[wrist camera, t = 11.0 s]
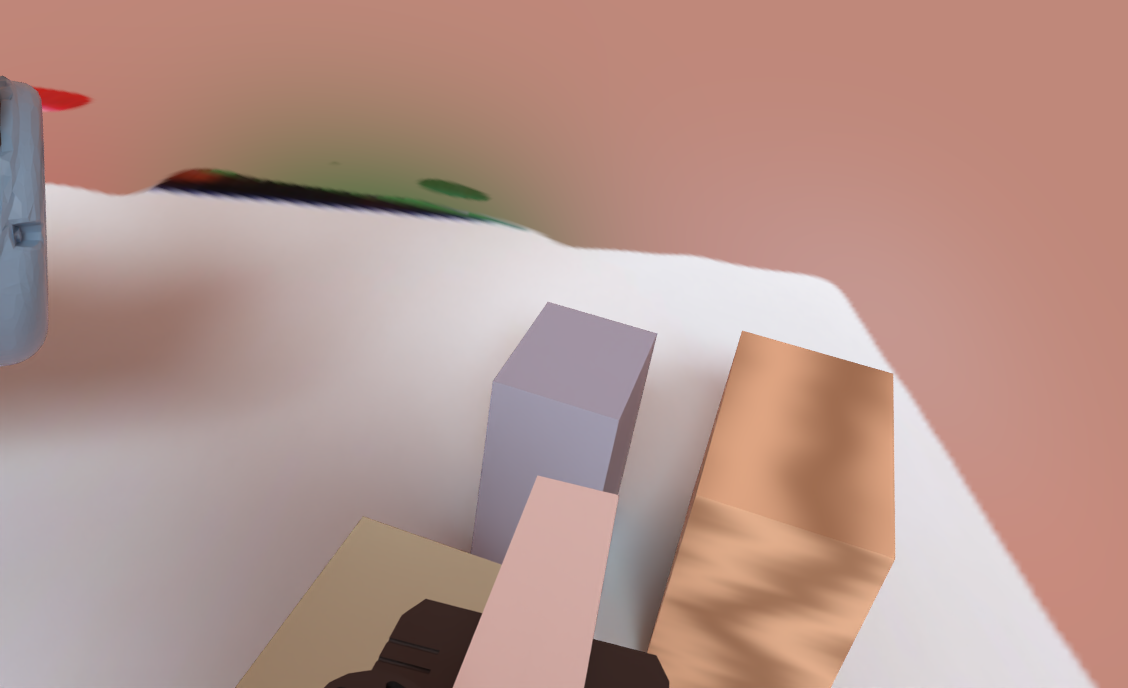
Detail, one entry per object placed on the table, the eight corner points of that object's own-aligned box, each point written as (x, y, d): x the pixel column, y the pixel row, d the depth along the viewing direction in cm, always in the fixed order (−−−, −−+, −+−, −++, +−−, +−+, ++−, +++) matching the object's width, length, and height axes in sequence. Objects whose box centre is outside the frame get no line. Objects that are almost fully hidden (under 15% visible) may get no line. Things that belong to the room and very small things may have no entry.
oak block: (639, 678, 43) (696, 494, 36) (691, 495, 54) (742, 330, 48) (804, 738, 41) (895, 558, 35) (822, 537, 53) (893, 373, 46)
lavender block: (469, 563, 47) (493, 380, 40) (520, 471, 53) (547, 301, 47) (577, 601, 46) (619, 420, 39) (615, 503, 52) (657, 333, 46)
